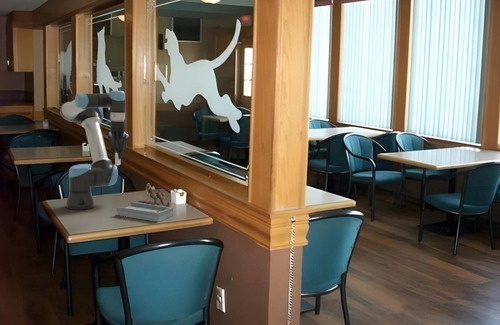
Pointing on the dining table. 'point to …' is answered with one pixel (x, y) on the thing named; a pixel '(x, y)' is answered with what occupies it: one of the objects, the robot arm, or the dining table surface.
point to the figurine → (155, 195)
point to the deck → (145, 211)
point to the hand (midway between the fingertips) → (117, 164)
